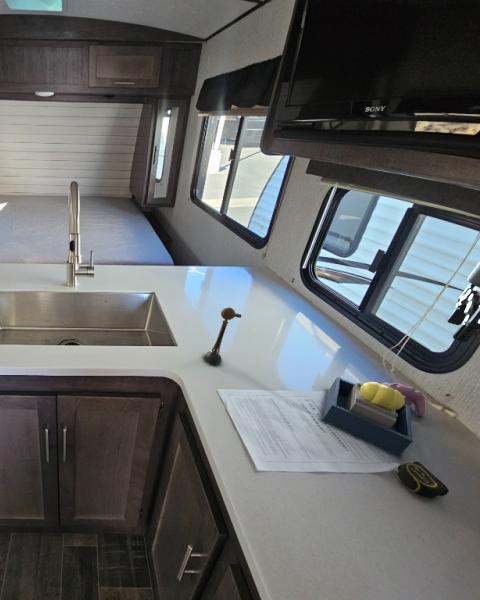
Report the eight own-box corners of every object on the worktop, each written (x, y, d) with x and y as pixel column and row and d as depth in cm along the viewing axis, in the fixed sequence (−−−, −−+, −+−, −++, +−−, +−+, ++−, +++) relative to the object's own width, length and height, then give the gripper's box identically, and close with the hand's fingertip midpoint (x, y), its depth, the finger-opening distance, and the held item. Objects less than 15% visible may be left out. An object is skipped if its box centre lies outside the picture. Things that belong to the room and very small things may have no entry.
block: (379, 417, 86) (396, 394, 82) (378, 442, 79) (398, 419, 75) (343, 401, 90) (358, 379, 86) (340, 423, 84) (356, 401, 79)
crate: (397, 420, 85) (409, 405, 82) (399, 456, 76) (413, 441, 73) (328, 390, 94) (337, 376, 91) (322, 420, 84) (332, 405, 81)
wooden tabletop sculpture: (223, 358, 104) (242, 306, 94) (224, 367, 100) (244, 314, 90) (204, 354, 105) (220, 302, 95) (204, 363, 102) (221, 310, 91)
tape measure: (443, 499, 68) (455, 489, 66) (416, 503, 67) (427, 493, 65) (411, 468, 74) (420, 458, 72) (385, 471, 73) (394, 461, 71)
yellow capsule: (400, 398, 79) (411, 391, 75) (395, 416, 78) (406, 411, 74) (360, 381, 84) (368, 375, 80) (353, 398, 82) (362, 392, 78)
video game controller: (414, 412, 90) (423, 389, 89) (425, 418, 86) (434, 393, 85) (371, 399, 93) (379, 377, 92) (379, 405, 89) (388, 381, 88)
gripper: (549, 284, 57) (486, 354, 66) (525, 261, 67) (473, 324, 75) (489, 271, 61) (436, 338, 70) (474, 251, 71) (430, 312, 79)
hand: (455, 331), depth 72 cm, fingers open, 8 cm apart
